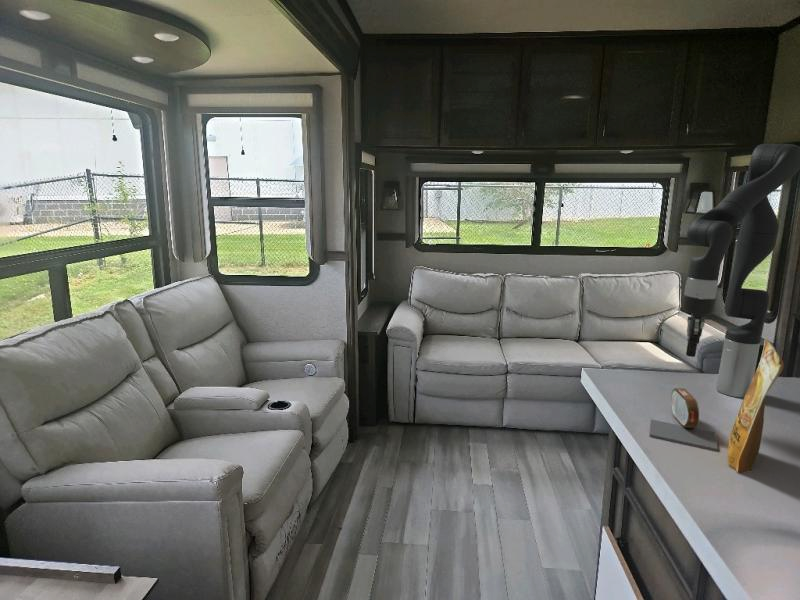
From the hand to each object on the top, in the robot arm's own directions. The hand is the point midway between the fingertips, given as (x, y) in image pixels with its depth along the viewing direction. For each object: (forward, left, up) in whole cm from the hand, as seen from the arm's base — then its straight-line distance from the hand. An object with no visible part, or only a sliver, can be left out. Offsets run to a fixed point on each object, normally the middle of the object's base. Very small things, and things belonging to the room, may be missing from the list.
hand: (690, 355), depth 143 cm
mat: (+16, 0, -17) cm, 23 cm away
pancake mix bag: (+22, +13, -17) cm, 31 cm away
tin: (+8, 0, -17) cm, 19 cm away
